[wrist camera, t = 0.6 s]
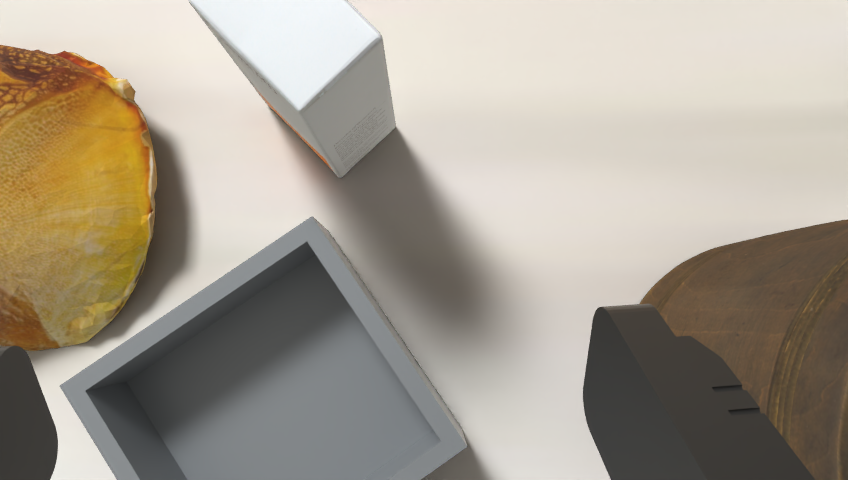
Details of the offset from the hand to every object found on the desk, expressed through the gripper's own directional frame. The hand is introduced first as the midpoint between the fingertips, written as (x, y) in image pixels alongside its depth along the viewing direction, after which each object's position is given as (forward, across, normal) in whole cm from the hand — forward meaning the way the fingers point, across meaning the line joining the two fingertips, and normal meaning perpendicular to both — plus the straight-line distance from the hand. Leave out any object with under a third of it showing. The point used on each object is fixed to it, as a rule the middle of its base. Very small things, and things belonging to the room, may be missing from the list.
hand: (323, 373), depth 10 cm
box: (+18, +4, +17) cm, 25 cm away
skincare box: (+27, +1, +5) cm, 27 cm away
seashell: (+26, +17, +9) cm, 33 cm away
